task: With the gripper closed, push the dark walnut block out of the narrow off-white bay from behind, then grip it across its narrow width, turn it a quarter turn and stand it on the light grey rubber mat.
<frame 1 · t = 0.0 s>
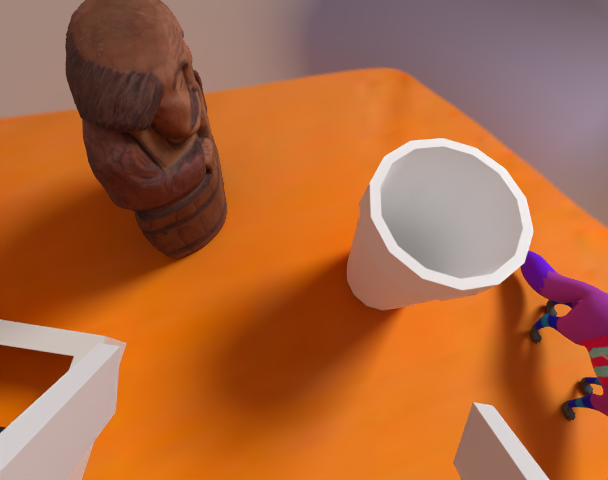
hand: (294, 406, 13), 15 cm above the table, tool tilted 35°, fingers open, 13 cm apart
wooden figurine: (191, 201, 33), on the table
foam cup: (380, 275, 32), on the table
toy dog: (554, 355, 31), on the table
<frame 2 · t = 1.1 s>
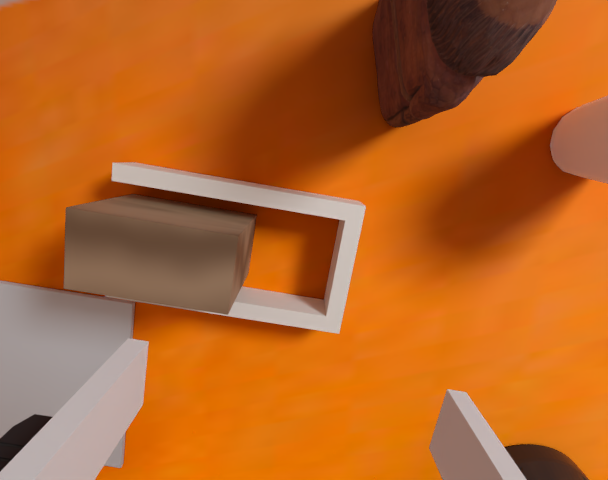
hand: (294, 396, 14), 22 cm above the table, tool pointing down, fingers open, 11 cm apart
wooden figurine: (404, 59, 32), on the table
foam cup: (582, 141, 34), on the table
bay: (232, 241, 35), on the table
mat: (63, 377, 39), on the table
walnut block: (192, 234, 35), resting in bay
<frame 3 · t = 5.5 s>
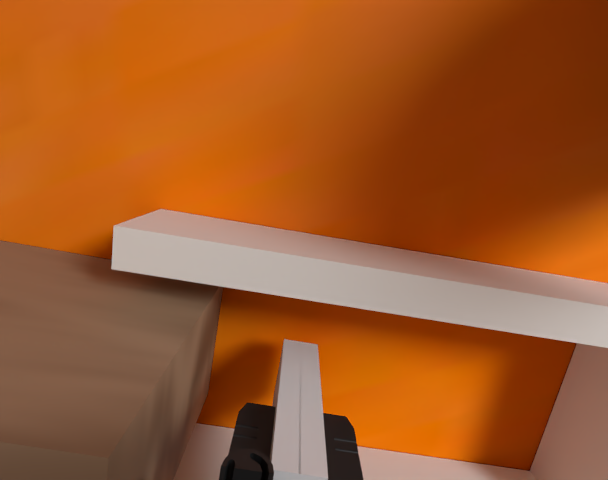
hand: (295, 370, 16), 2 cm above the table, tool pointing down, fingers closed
bay: (358, 365, 17), on the table
walnut block: (87, 317, 17), on the table, touching hand
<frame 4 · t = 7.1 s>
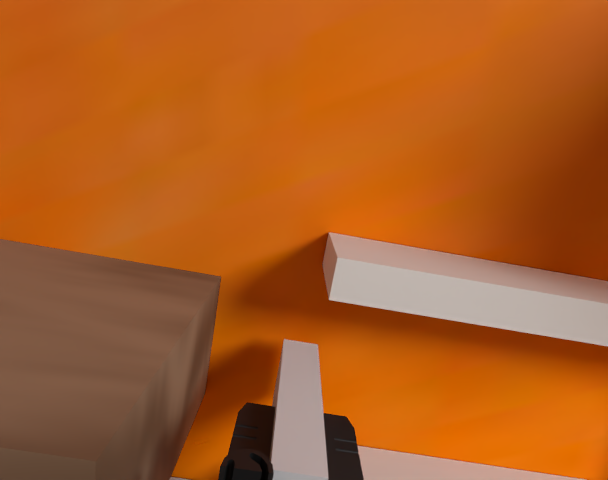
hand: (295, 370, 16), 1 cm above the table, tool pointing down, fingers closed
bay: (508, 387, 17), on the table
walnut block: (82, 315, 16), on the table, touching hand
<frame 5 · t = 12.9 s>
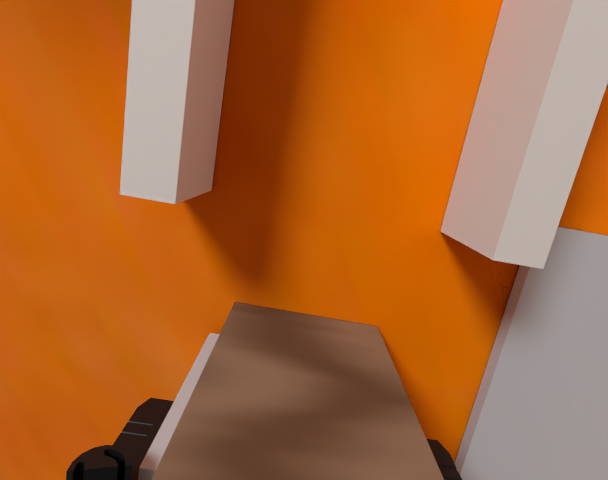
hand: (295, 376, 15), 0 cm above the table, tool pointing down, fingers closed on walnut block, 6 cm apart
walnut block: (282, 435, 16), on the table, touching gripper
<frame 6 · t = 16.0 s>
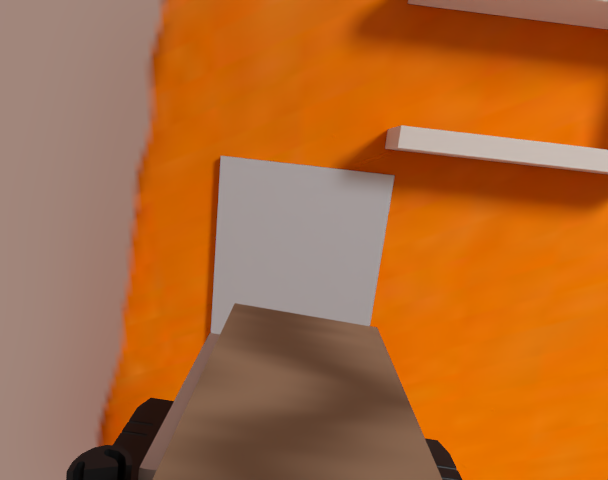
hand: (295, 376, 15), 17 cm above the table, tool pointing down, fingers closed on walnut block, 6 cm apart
bay: (523, 84, 28), on the table
mat: (295, 281, 32), on the table
walnut block: (281, 436, 16), point 16 cm above the table, touching gripper
when the fingers open (2 cm above the table, at t = 19.3 s): walnut block drops 1 cm, resting on mat.
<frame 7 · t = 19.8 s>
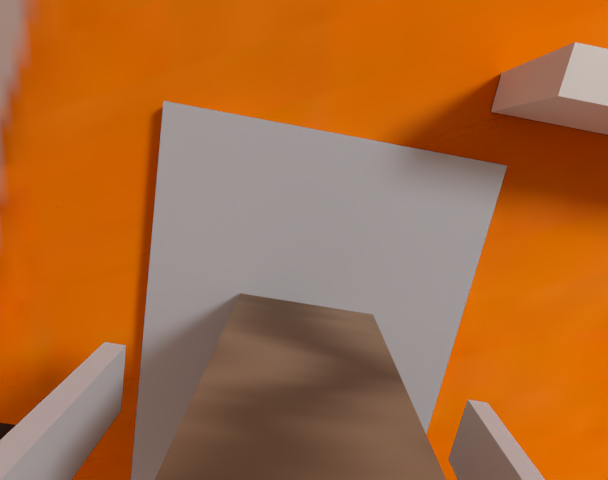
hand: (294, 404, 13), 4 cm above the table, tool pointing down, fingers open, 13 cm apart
mat: (296, 349, 17), on the table
walnut block: (285, 418, 17), point 1 cm above the table, touching mat
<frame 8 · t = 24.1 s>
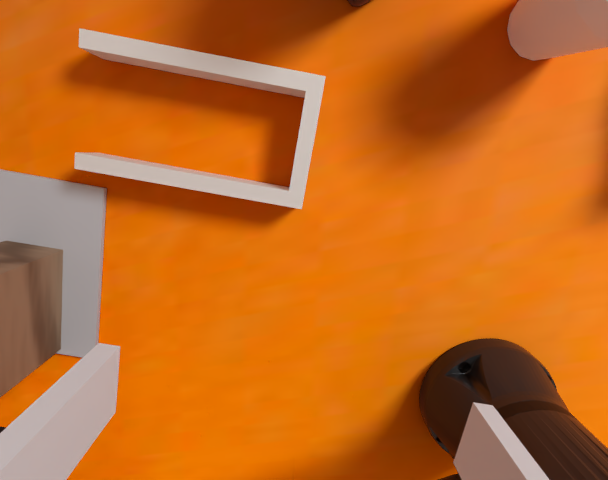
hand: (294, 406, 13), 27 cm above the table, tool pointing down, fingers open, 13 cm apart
foam cup: (538, 25, 35), on the table
bay: (200, 125, 37), on the table
mat: (38, 266, 40), on the table
walnut block: (34, 296, 40), point 1 cm above the table, touching mat
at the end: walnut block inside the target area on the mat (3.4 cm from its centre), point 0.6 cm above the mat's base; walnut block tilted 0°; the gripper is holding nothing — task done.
